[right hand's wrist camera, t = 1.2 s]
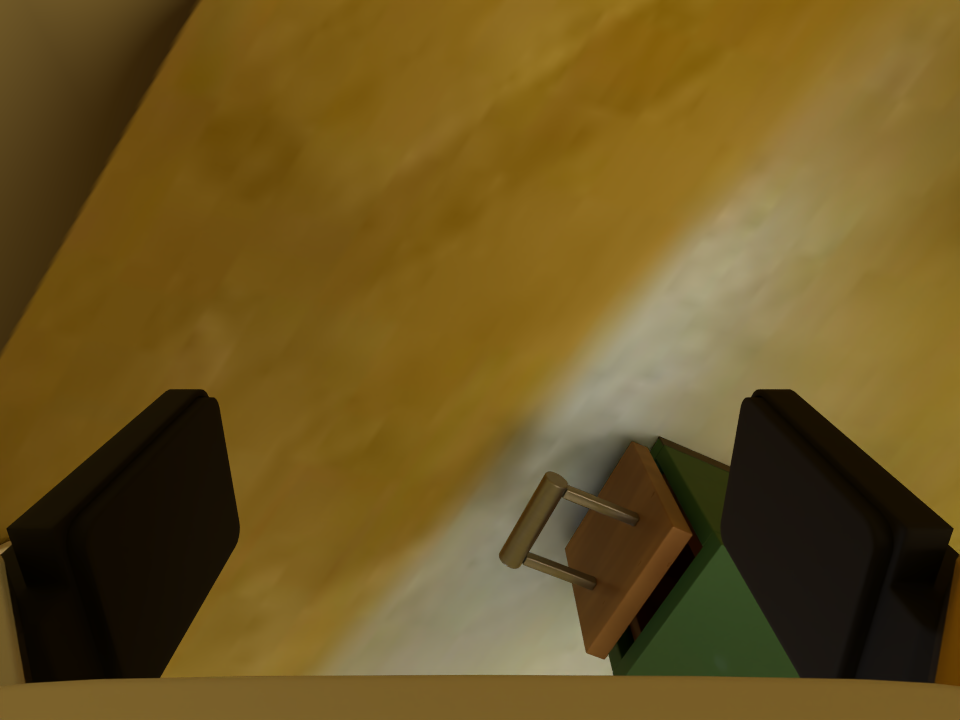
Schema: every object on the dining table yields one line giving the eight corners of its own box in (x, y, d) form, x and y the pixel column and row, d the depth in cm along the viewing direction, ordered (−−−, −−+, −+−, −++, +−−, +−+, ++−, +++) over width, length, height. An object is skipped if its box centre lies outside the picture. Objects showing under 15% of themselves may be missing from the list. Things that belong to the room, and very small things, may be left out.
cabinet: (583, 555, 43) (615, 688, 33) (659, 436, 39) (721, 544, 29) (816, 644, 46) (911, 792, 36) (905, 541, 42) (1038, 672, 32)
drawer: (485, 518, 40) (487, 618, 32) (548, 405, 37) (567, 483, 29) (790, 635, 44) (861, 751, 36) (869, 540, 41) (966, 644, 33)
